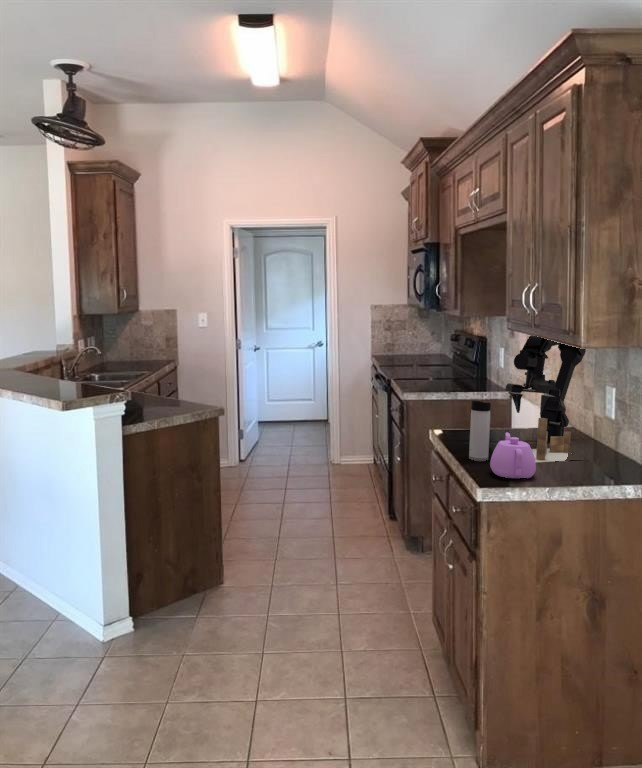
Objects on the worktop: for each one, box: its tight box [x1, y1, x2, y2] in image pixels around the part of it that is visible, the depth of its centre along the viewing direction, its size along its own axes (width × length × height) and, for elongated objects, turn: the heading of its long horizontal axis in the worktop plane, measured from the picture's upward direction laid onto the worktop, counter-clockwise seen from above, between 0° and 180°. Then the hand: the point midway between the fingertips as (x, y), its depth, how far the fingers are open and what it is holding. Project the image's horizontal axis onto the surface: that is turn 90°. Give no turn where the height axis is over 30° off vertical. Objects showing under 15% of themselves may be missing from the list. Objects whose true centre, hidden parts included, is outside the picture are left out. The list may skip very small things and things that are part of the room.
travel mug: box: [468, 400, 492, 462], centre depth 238 cm, size 6×7×20 cm
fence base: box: [546, 430, 572, 453], centre depth 250 cm, size 9×3×8 cm, turn 104°
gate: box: [536, 417, 548, 459], centre depth 243 cm, size 12×3×13 cm, turn 156°
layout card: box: [531, 447, 568, 464], centre depth 247 cm, size 21×18×1 cm
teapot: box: [489, 432, 537, 479], centre depth 219 cm, size 20×13×12 cm, turn 177°
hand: (529, 413), depth 258 cm, fingers open, 9 cm apart
